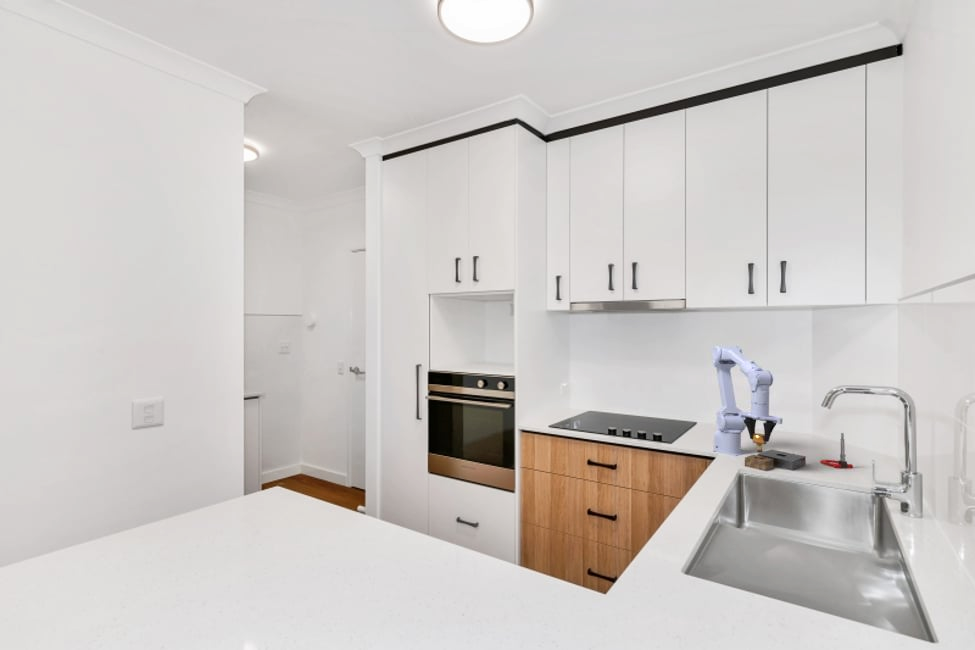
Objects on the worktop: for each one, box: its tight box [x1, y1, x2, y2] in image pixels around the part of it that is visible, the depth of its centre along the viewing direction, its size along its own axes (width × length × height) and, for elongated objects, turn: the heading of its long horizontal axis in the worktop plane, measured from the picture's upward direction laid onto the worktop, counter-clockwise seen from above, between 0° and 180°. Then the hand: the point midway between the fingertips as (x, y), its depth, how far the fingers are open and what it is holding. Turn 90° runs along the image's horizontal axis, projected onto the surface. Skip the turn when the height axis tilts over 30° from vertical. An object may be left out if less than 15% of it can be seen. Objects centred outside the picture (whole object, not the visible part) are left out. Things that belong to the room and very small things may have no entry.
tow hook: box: [820, 432, 854, 469], centre depth 181 cm, size 8×13×9 cm
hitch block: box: [756, 449, 807, 471], centre depth 180 cm, size 12×12×4 cm
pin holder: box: [744, 454, 774, 472], centre depth 176 cm, size 7×7×4 cm
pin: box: [752, 432, 767, 453], centre depth 176 cm, size 4×4×6 cm
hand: (759, 440), depth 176 cm, fingers closed on pin, 4 cm apart
